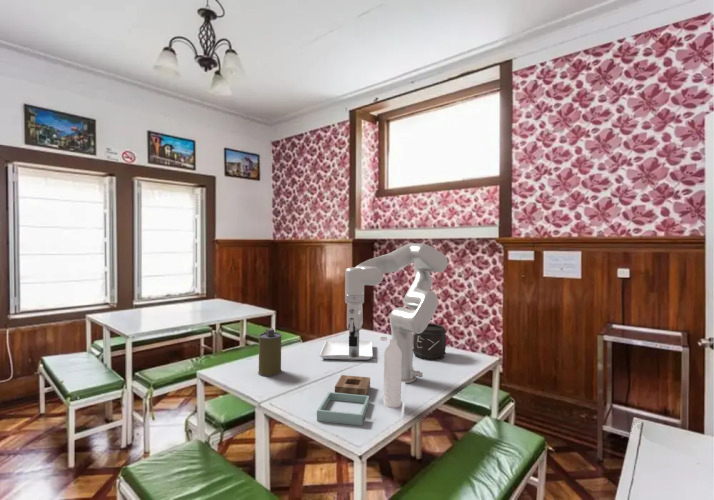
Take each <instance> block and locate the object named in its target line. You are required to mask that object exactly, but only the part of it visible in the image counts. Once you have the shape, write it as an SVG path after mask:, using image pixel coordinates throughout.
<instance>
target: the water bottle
mask: <svg viewBox="0 0 714 500" xmlns="http://www.w3.org/2000/svg"><path fill="white" fill-rule="evenodd" d="M379 340H380V341H382V342H386V341H387V340H388V337H387V336H380V339H379ZM389 340H390V341H389V344H388V346H387V347H386V348H385V350H384V354H383V355H384V356H383V357H384V358H383V360H384V361H383V362H384V363H383V367H384V368H383V403H382V404H383V405H384V406H385V407H387V408H391V409H392V408H398V407H401V405H402V395H401V394H402V382H401V368H402V367H401V366H402V360H401V359H402V352H401V350H400V348H399V347H398V345H397V340H395V339H392V338H391V339H389Z"/></svg>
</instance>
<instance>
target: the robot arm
mask: <svg viewBox="0 0 714 500" xmlns="http://www.w3.org/2000/svg"><path fill="white" fill-rule="evenodd" d="M412 263H413V267H414V272H415V277H414V279H413V281H412V283H411V285H410V287H409V288H408V290H407V292H406V294H405V295H404V297H403V305H404V306H405V307H396V308H394V309H392V311H391V312H390V314H389V324H390V330H391V331H390V332H391V339H395V340H397V345H398V347H399V348H400V350H401V352H402V359H401V360H402V366H401V367H402V368H401V383H405V384H411V383H414V382H415V381H417V379H416V377H419V378H423V375H424V374H423V372H421V371H420V370H415V369H414V366H413V361H414V357H413V356H414V355H413V354H414V353H413V333H416V334H419V333H422V332H423V331H424V330H425V329H426V327H427V326H428V324H429V323H430V322H431V321H432V318H433V316H434V314H435V313H436V311H437V308H438V306H439V298H438V296H437V294H436V292H434V291H433V290H432V291H431V289H432V288H433V287H432V286H433V279H432V276H431V273H430V272H432V273H433V272H434V273H441V272H444V271H445V270H446V269H447V267H448V265H449V264H448V258H447V256H446V255H445V254H444V253H442V252H441V251H440V250H438V249H436V248H434V247H433V246H431V245H429V244H426V243H418V242H417V243H416V242H415V243H414V242H411V243H410V242H409V243H407V244H404V245H402V246H401V247H399V248H397V249H395V250H393V251H391V252H388V253H387V254H386V253H385V254H383V255H380V256H377V257H373V258H369V259H366V260H365V261H363V262H360V263H359V264H358V265H356V266H355V267H354V266H353V267H348V268H346V269H345V275H344V277H345V278H344V280H345V282H344V293H345V294H344V302H345V304H347V305H346V306H347V309H346V328H348V329H349V330H348V329H347V330H348V340H349V346H353V347H356V346H357V336H356V333H357V329H360V327H361V328H362V326H363V324H364V321H363V320H364V319H363V318H364V317H363V315H364V314H363V311H364V310H363V304H364V303H365V286H378V285H380V284H381V283H382V282H383V280H384V274H389V273H397V272H398V271H400V270H402V269H404V268H406V267H407V266H409V265H411V264H412ZM406 307H407V308H406ZM353 327H355V328H353ZM356 328H357V329H356ZM353 330H355V332H354V331H353Z"/></svg>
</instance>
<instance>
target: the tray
mask: <svg viewBox="0 0 714 500" xmlns="http://www.w3.org/2000/svg"><path fill="white" fill-rule="evenodd" d="M330 401H341V402H348V403H349V402H351V403H361V404H363V405H362V408H361V411H360V413H353V412H345V411H337V410H334V411H333V410H328V409H327V410H325V409H326V408H327V406H328V404H329V402H330ZM369 404H370V395H367V396H366V395H355V394H345V393H335V391H334V392H333V391H332V392H331V391H328V393H327V394H326V396H325V397H324V399H323V401H322V402H321V404H320V405H319V407H318V408H317V410H316V422H327V423H333V424H334V423H335V424H343V425H352V426H360V427H362V426H363V424H364V421H365V415H366V413H367V409H368V407H369Z"/></svg>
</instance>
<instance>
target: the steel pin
mask: <svg viewBox="0 0 714 500" xmlns="http://www.w3.org/2000/svg"><path fill="white" fill-rule="evenodd" d="M346 328H347V327H346ZM353 328H355V327H353ZM356 329H357V328H356ZM347 330H348V331H349V329H348V328H347ZM360 330H362V326H361V327H360V329H357V333H356V336H357V346H356V347H353V346H349V357H352V358H356V357H359V341H360ZM353 331H354V332H355V330H353Z"/></svg>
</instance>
